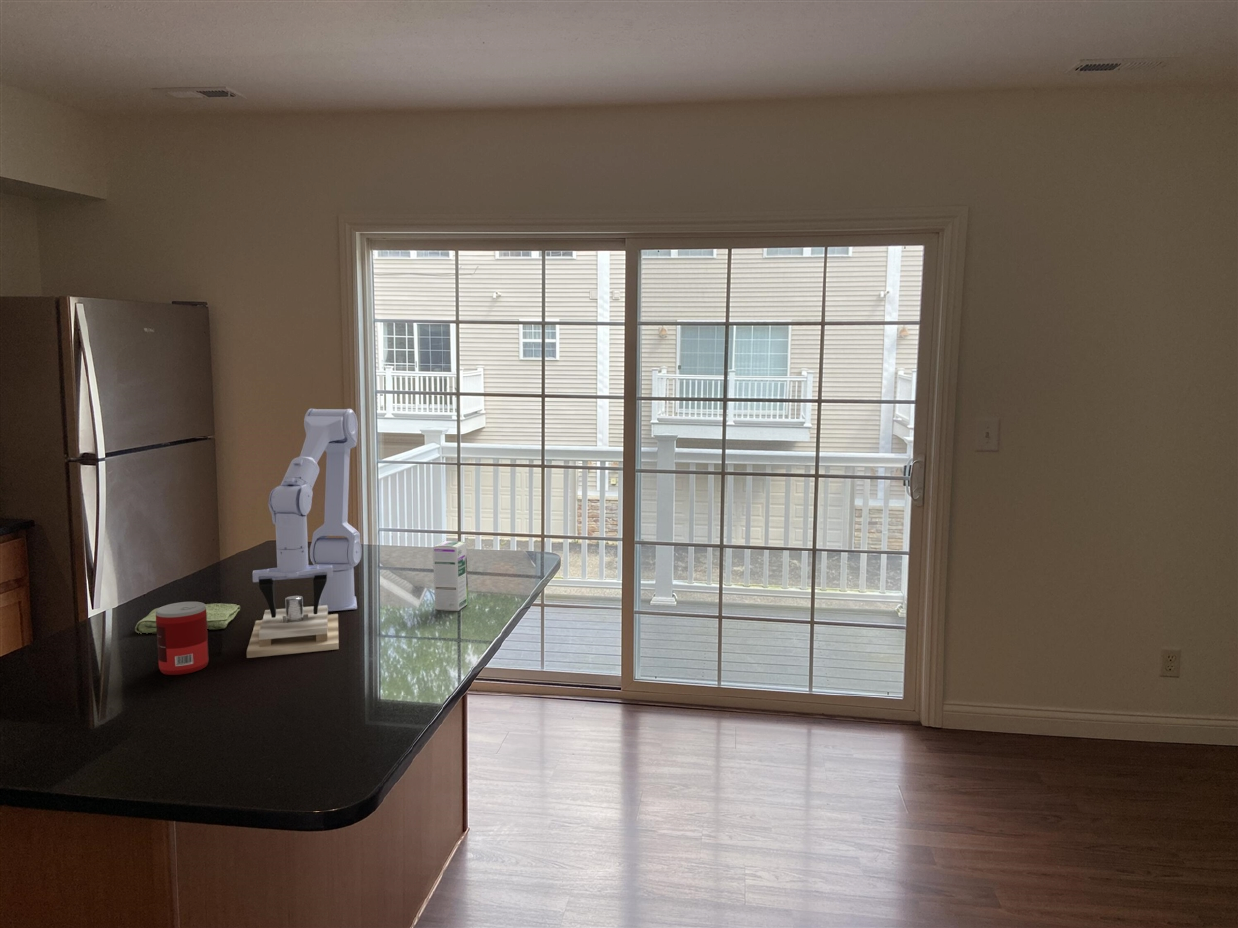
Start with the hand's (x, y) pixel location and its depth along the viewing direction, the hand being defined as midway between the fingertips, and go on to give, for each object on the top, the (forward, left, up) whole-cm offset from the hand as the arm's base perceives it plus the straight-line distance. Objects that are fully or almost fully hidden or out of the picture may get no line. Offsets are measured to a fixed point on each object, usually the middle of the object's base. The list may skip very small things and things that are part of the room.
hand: (294, 614), depth 166 cm
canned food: (+12, -18, -5) cm, 22 cm away
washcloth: (-17, -21, -5) cm, 28 cm away
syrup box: (-12, +32, -5) cm, 35 cm away
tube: (0, 0, -5) cm, 5 cm away
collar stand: (0, 0, -5) cm, 5 cm away
